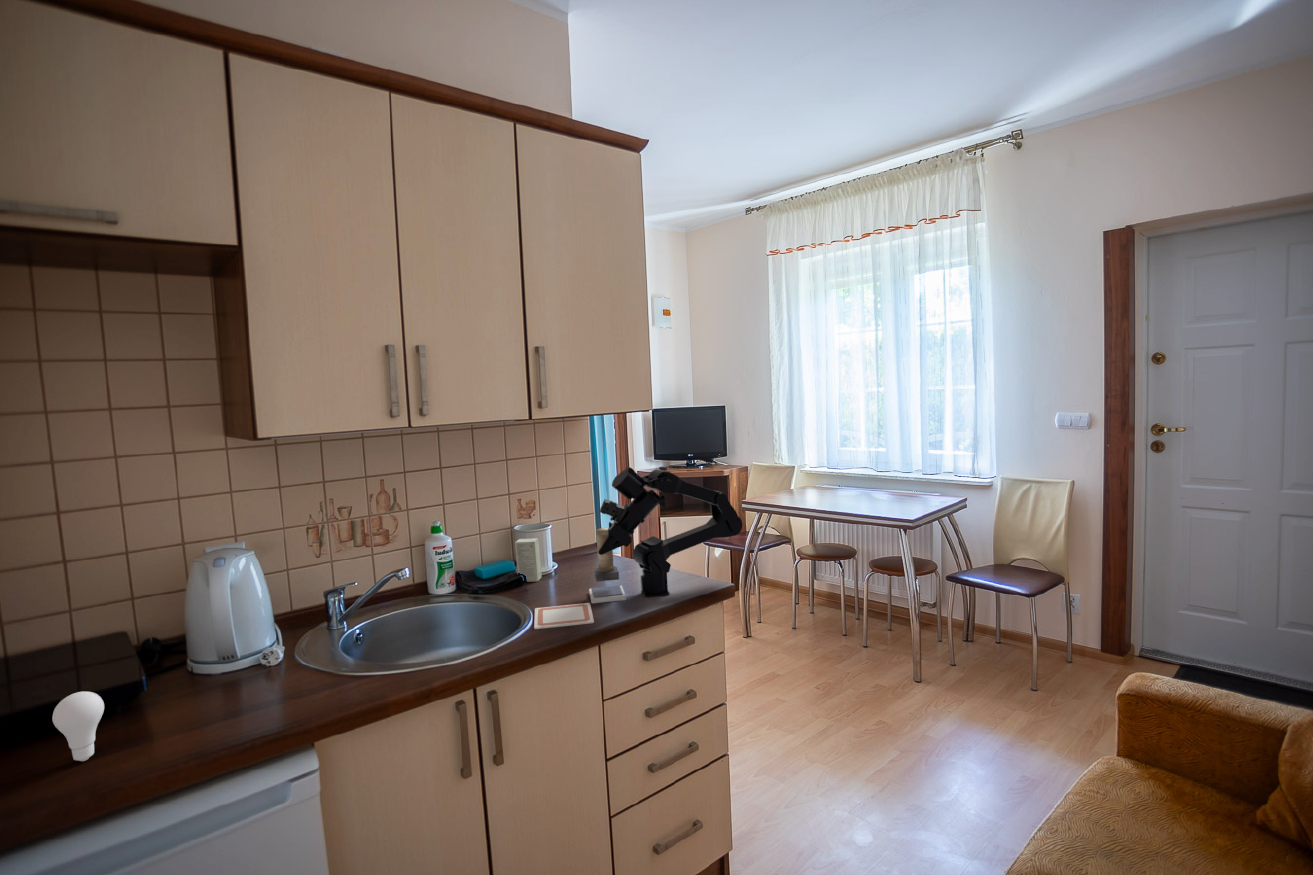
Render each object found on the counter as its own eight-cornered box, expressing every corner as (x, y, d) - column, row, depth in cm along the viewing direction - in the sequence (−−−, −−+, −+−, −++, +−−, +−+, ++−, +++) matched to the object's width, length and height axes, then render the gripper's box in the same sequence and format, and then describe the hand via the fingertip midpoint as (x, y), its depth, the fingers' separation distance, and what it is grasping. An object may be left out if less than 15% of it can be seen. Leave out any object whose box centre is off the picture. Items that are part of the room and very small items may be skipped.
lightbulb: (49, 767, 101) (41, 699, 100) (95, 746, 106) (87, 682, 106) (73, 774, 98) (64, 705, 98) (118, 752, 104) (111, 687, 103)
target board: (589, 604, 167) (589, 602, 167) (594, 622, 153) (593, 620, 153) (535, 609, 164) (534, 607, 164) (534, 629, 151) (534, 627, 150)
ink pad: (621, 589, 178) (621, 584, 177) (626, 599, 169) (625, 594, 169) (589, 592, 176) (589, 587, 176) (591, 603, 167) (591, 597, 167)
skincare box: (542, 577, 193) (539, 537, 192) (537, 581, 189) (535, 541, 188) (521, 577, 194) (519, 538, 193) (517, 582, 190) (514, 541, 189)
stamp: (616, 573, 175) (613, 526, 175) (619, 579, 170) (616, 530, 169) (594, 575, 174) (591, 528, 174) (596, 581, 169) (593, 532, 168)
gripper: (617, 483, 180) (579, 524, 180) (616, 494, 161) (574, 539, 161) (646, 510, 181) (608, 551, 181) (649, 523, 162) (607, 568, 162)
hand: (599, 551), depth 171 cm, fingers closed on stamp, 4 cm apart
